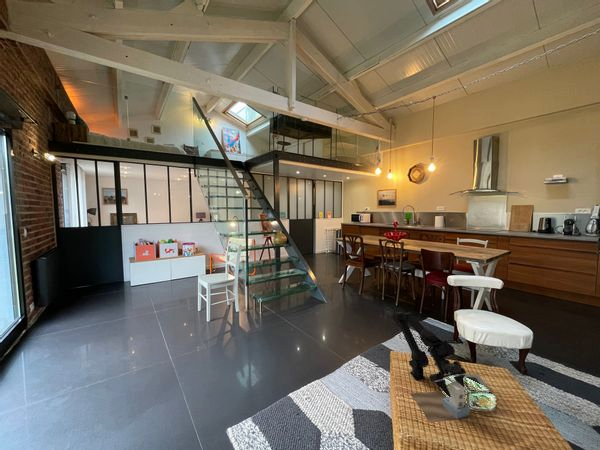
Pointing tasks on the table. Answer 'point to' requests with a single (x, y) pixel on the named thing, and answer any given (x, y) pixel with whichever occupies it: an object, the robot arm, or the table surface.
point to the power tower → (456, 395)
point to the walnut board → (434, 406)
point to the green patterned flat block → (475, 379)
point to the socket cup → (454, 411)
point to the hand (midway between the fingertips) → (457, 394)
